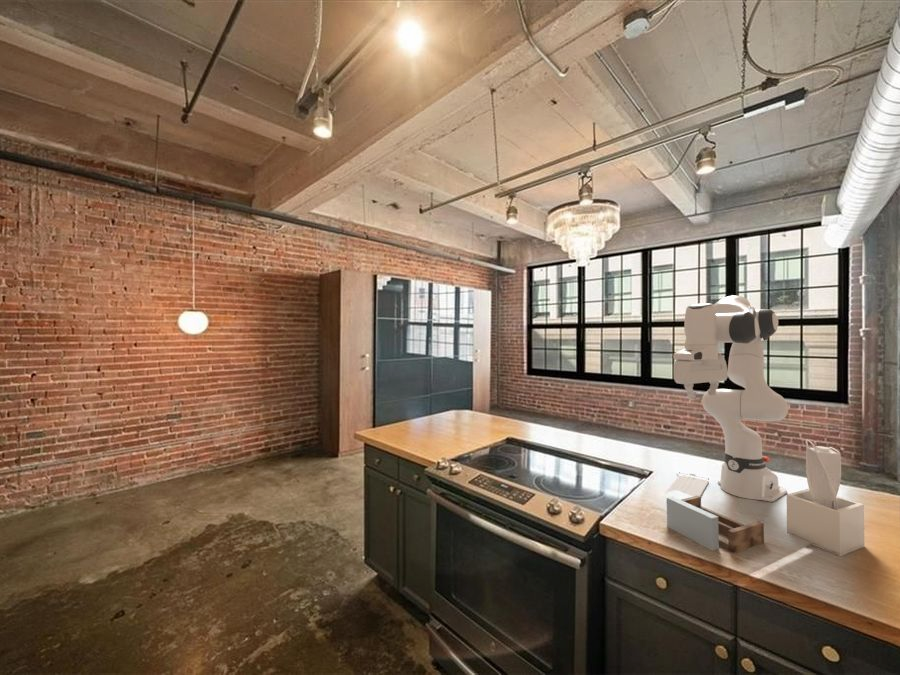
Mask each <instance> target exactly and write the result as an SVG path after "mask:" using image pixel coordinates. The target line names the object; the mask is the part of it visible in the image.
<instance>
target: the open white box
mask: <svg viewBox="0 0 900 675" xmlns="http://www.w3.org/2000/svg"><path fill="white" fill-rule="evenodd" d="M810 495H811V494H810V490H809V488H806V489H802V490H798V491H795V492H792V493H789V494H787V493H786V495H785V496H786V531H787V532H786V533H787V534H790V535H792V536H794V537H798V538H799V539H802V540H804V541H808V542H810V545H812V546H815V547H817V548H819V549H822V550H825V551H826V552H827V551H828V552H829V553H832V554H834V555H836V556H839V557H841V556H844V555H846V554H849V553H851V552H854V551H856V550H859V549H862V548H865V504H863V503H861V502H859V501H858V502H857V501H854V500H850V499H848V498H844V497H840V496H838V495H837V496H836V499H837V503H838V508H839V509H838V510H835V509H832V508H829V507H826V506H823V505H820V504H817V503H814V502H811V501H810Z"/></svg>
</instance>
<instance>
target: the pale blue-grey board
mask: <svg viewBox="0 0 900 675" xmlns="http://www.w3.org/2000/svg"><path fill="white" fill-rule="evenodd" d="M666 526H667V528H669V529H671V530H673V531H675V532H677V533H679V534H680V535H683V536H684V537H685V538H688V539H689V540H692V541H694V542H695V543H697V544H699V545H701V546H703V547H704V548H707V549H709V550H710V551H712V552H713V551H717V550H719V549H720V546H719V538H720V536H719V535H720V534H719V533H720V532H719V529H718V516H716V515H713V514H711V513H709V512H707V511H704V510H702V509H700V508H698V507H695V506H693V505H691V504H689V503H686V502H684V501H682V500H681V499H679V498H677V497H675V496H668V497H666Z"/></svg>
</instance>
